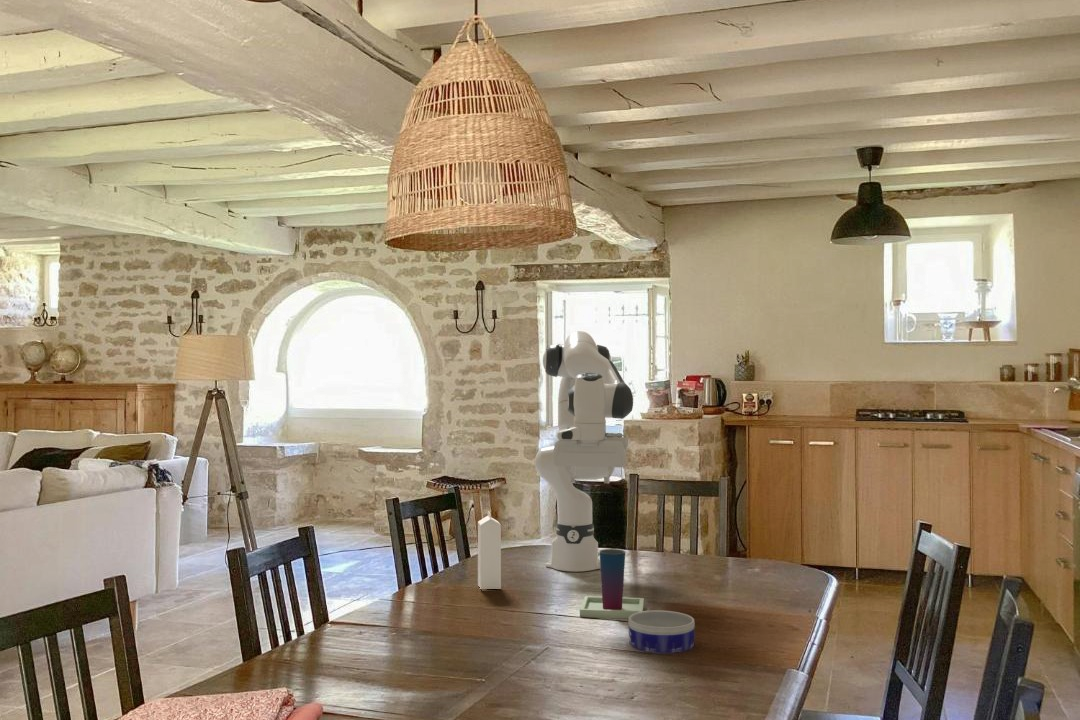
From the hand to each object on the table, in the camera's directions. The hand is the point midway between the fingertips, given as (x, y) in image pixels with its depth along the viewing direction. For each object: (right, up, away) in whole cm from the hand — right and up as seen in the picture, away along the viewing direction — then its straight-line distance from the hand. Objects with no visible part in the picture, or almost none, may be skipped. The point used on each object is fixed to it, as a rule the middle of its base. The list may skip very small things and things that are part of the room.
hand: (589, 482), depth 253 cm
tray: (+6, -32, -9) cm, 34 cm away
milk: (-28, -33, +15) cm, 46 cm away
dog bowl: (+15, -33, -38) cm, 52 cm away
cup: (+6, -32, -10) cm, 34 cm away
